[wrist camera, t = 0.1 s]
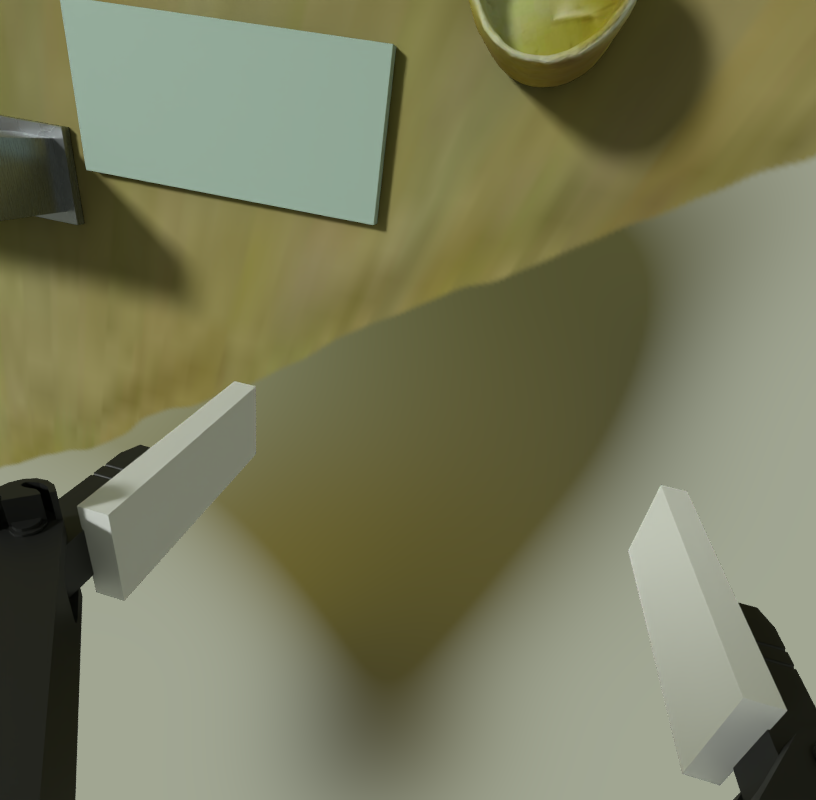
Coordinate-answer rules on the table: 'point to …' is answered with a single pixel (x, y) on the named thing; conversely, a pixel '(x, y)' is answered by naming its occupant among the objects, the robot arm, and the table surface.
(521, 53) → the mug
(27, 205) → the standards
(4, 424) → the table surface
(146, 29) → the mat
